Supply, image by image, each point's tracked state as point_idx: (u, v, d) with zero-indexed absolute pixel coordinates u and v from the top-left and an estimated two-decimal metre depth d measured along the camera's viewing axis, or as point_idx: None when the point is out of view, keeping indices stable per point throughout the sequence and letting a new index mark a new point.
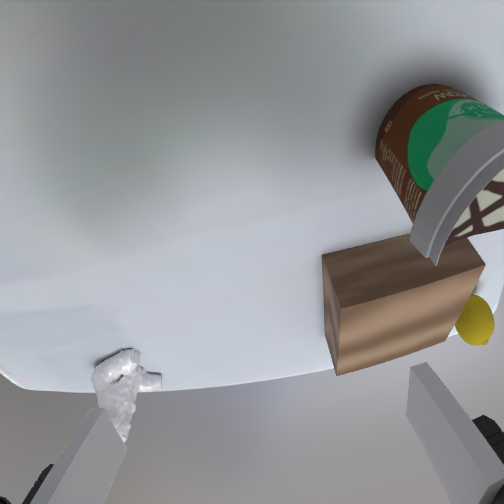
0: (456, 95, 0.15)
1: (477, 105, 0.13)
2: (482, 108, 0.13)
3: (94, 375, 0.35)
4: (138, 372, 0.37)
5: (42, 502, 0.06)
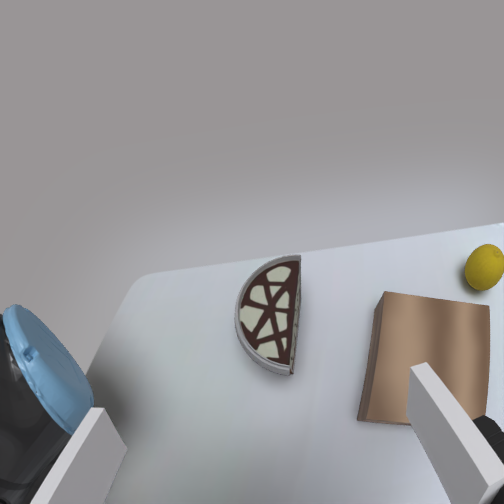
0: None
1: None
2: None
3: None
4: None
5: (42, 502, 0.06)
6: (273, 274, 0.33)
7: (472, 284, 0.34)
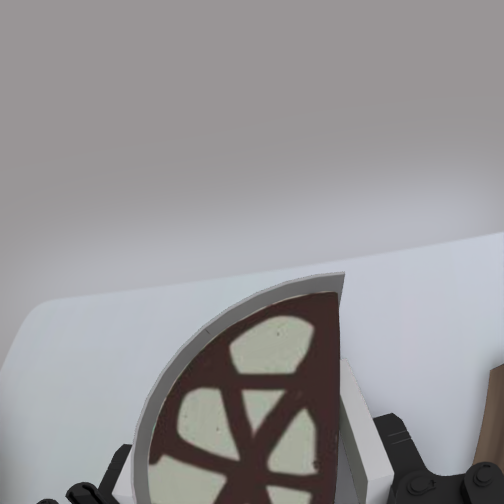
0: None
1: None
2: None
3: None
4: None
5: (130, 481, 0.08)
6: (253, 347, 0.09)
7: None
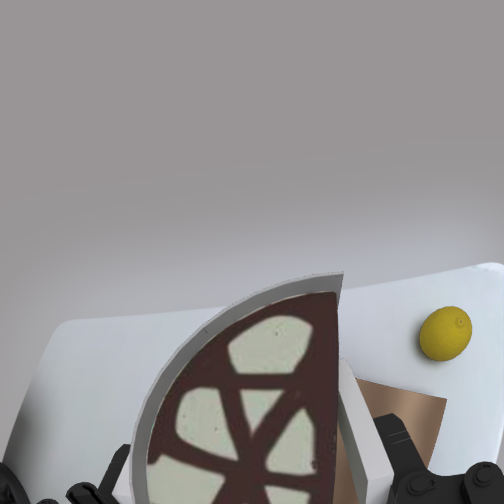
0: None
1: None
2: None
3: None
4: None
5: None
6: (252, 346, 0.09)
7: (426, 354, 0.29)
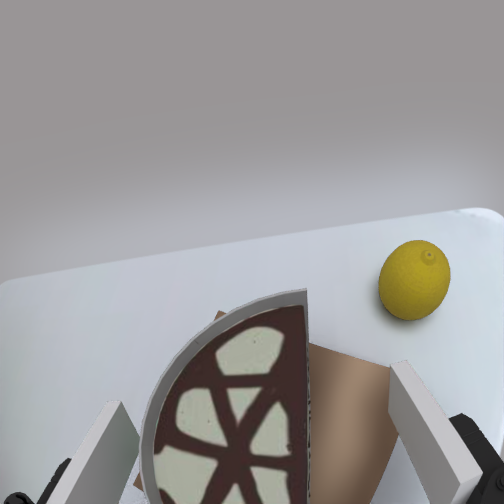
0: None
1: None
2: None
3: None
4: None
5: (62, 496, 0.07)
6: (235, 353, 0.11)
7: (389, 310, 0.23)
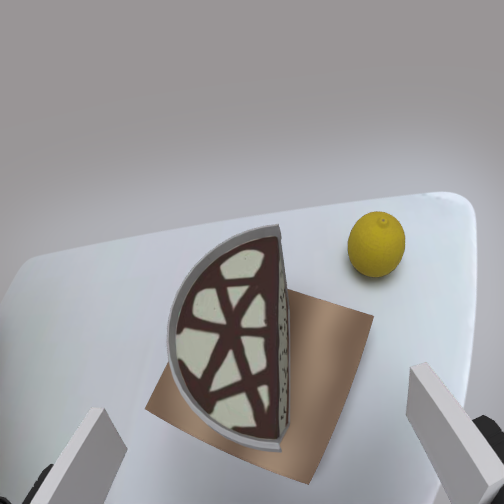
0: None
1: None
2: None
3: None
4: None
5: (42, 502, 0.06)
6: (232, 265, 0.18)
7: (356, 268, 0.29)
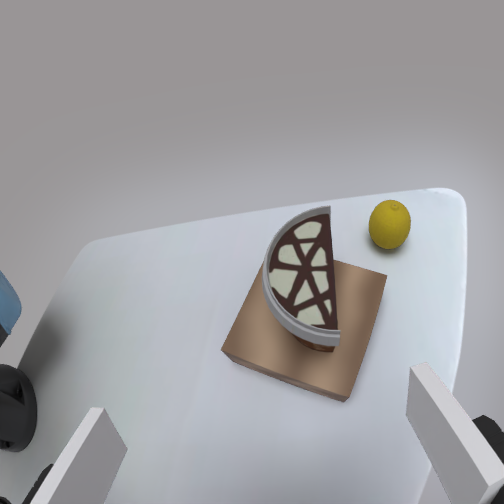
0: None
1: None
2: None
3: None
4: None
5: (42, 502, 0.06)
6: (302, 231, 0.28)
7: (375, 241, 0.39)
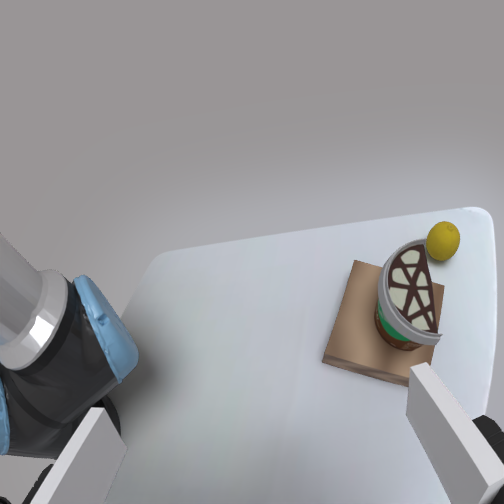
0: (377, 307, 0.37)
1: None
2: None
3: None
4: None
5: (42, 502, 0.06)
6: (406, 257, 0.33)
7: (432, 255, 0.45)
